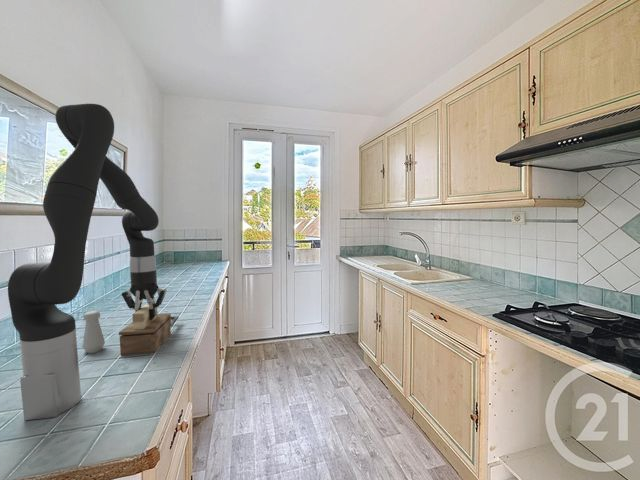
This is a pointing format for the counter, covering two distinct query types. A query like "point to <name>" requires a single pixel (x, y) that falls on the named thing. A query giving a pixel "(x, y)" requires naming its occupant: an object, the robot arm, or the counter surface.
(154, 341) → the toolbox
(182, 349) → the counter surface
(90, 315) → the salt shaker
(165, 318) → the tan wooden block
